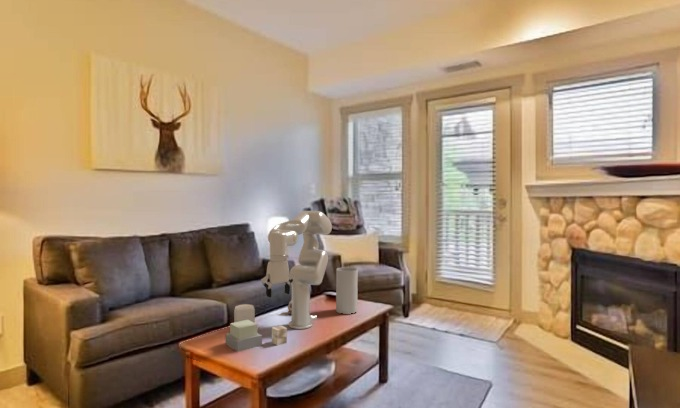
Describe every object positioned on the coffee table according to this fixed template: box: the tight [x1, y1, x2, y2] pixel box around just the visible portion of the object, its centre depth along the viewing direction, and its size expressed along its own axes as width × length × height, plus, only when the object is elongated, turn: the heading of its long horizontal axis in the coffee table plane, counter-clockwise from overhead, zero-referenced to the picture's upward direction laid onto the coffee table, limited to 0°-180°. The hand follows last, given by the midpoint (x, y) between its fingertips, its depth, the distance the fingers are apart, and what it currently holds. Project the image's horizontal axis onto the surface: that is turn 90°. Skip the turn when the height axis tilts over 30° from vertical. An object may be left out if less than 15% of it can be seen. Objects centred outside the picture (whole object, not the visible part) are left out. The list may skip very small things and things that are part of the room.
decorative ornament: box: [287, 299, 292, 315], centre depth 240 cm, size 8×8×15 cm
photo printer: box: [233, 303, 256, 323], centre depth 213 cm, size 10×4×12 cm, turn 104°
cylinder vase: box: [335, 266, 359, 315], centre depth 245 cm, size 12×12×25 cm
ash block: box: [271, 325, 288, 346], centre depth 193 cm, size 5×5×7 cm
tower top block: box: [229, 320, 258, 340], centre depth 190 cm, size 9×9×5 cm
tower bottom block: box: [225, 332, 263, 353], centre depth 190 cm, size 12×12×5 cm
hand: (278, 295), depth 193 cm, fingers open, 9 cm apart
